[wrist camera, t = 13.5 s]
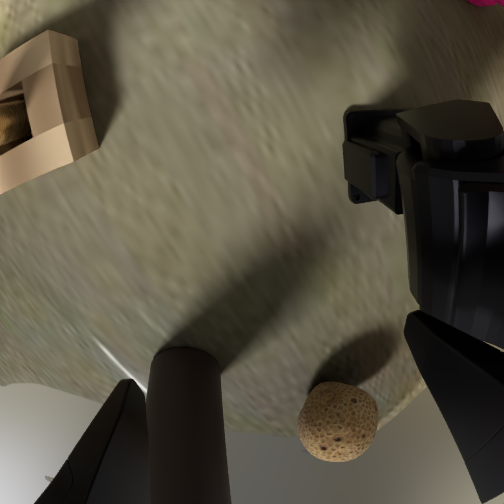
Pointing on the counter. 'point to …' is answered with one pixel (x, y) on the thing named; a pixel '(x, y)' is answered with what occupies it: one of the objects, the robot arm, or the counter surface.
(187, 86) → the counter surface
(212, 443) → the bottle
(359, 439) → the natural sponge
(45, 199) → the counter surface
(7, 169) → the tan square ring block
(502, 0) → the pepper mill
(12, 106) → the T-key
